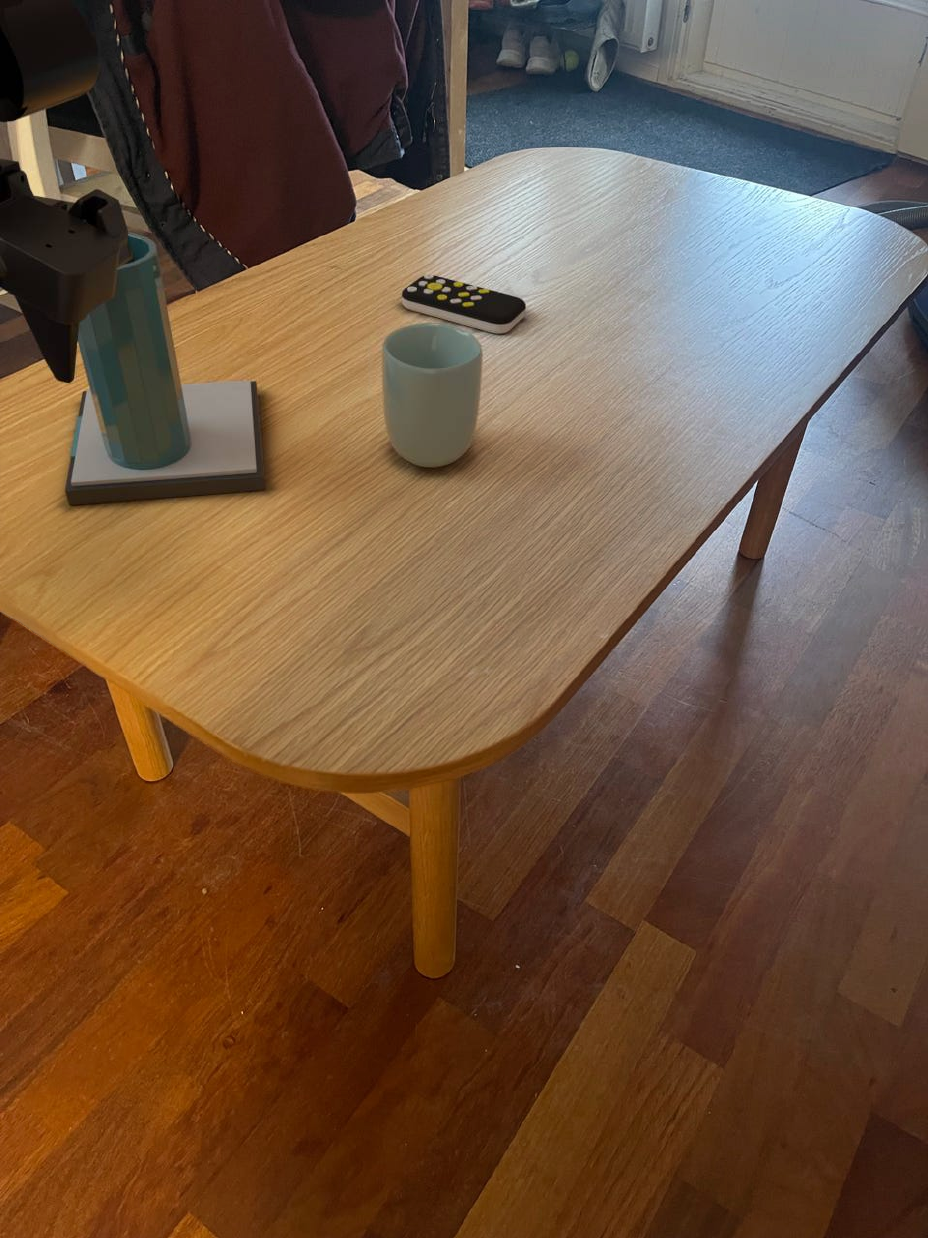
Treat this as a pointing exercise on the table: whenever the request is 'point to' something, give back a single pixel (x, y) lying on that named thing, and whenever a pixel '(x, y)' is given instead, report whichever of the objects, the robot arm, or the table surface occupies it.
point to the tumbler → (136, 367)
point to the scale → (211, 466)
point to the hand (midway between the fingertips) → (21, 416)
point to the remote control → (464, 303)
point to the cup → (431, 391)
